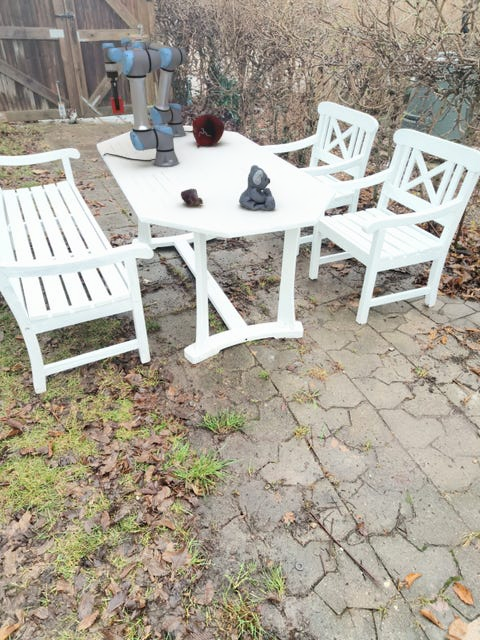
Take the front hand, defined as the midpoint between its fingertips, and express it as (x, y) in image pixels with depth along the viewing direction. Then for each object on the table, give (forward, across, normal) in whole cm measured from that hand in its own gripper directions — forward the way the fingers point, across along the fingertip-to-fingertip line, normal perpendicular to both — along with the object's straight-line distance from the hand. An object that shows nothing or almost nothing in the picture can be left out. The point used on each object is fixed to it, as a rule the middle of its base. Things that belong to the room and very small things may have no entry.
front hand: (117, 109), depth 308 cm
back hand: (-2, +59, -18) cm, 62 cm away
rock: (+27, -124, -21) cm, 129 cm away
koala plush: (+27, -137, -52) cm, 149 cm away
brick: (+2, 0, 0) cm, 2 cm away
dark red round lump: (+27, -2, -63) cm, 68 cm away
